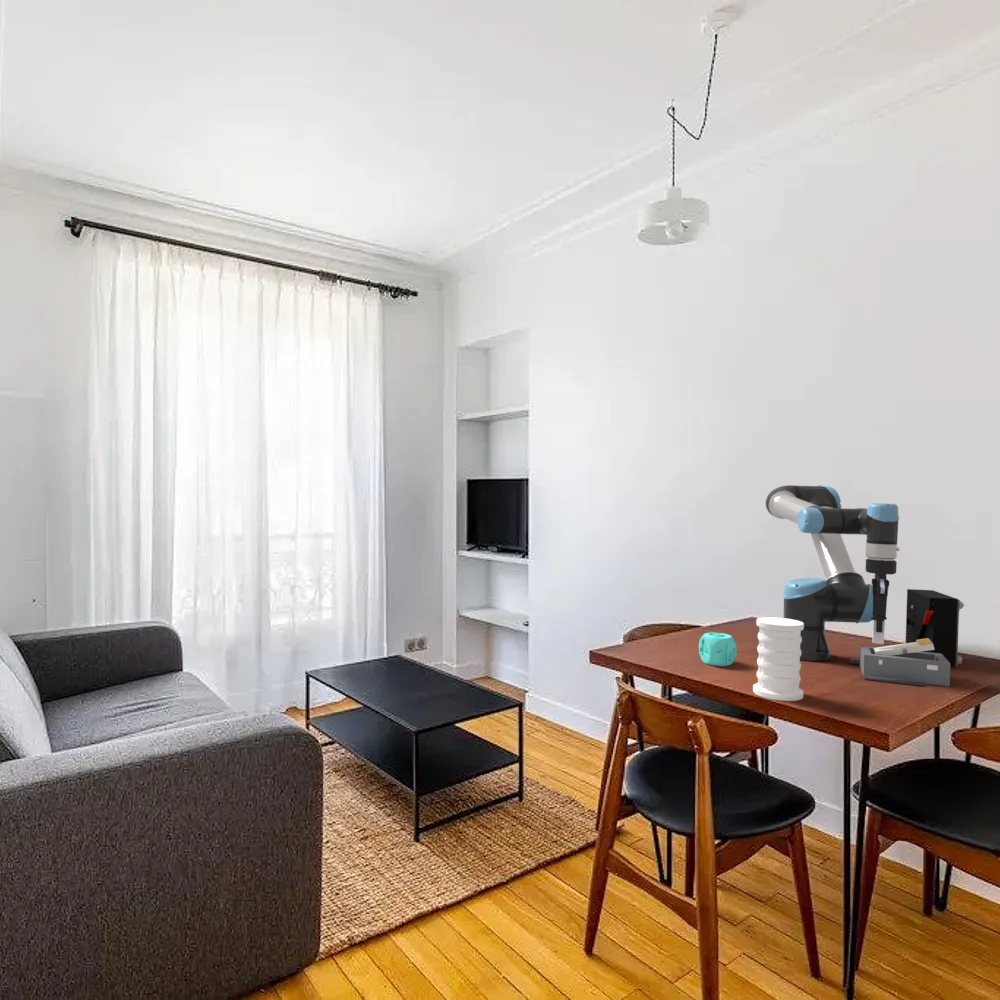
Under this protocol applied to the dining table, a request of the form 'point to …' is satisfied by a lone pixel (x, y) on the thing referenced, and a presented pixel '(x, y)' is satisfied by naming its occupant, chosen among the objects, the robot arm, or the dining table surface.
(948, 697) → the dining table surface
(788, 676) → the decorative container
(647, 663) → the dining table surface
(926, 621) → the electrical component
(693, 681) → the dining table surface
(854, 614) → the robot arm
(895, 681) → the dark grey thin bar
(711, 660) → the decorative dice
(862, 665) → the breaker housing
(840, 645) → the dining table surface
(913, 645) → the rocker
